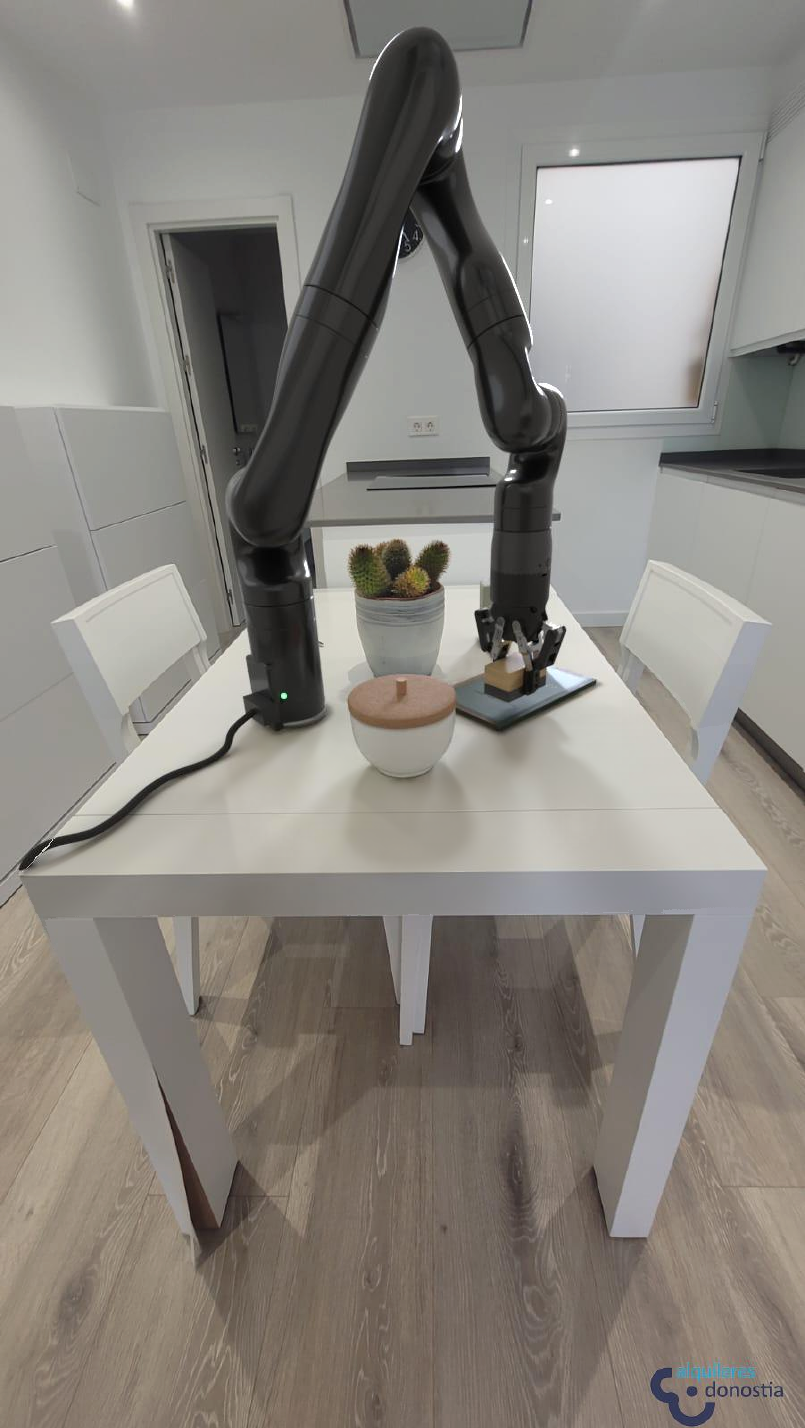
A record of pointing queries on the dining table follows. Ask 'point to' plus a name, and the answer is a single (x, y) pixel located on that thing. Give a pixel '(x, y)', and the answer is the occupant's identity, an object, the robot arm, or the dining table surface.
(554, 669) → the chalkboard
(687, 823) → the dining table surface
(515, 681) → the eraser
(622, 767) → the dining table surface
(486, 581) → the box
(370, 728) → the lidded bowl
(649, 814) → the dining table surface
